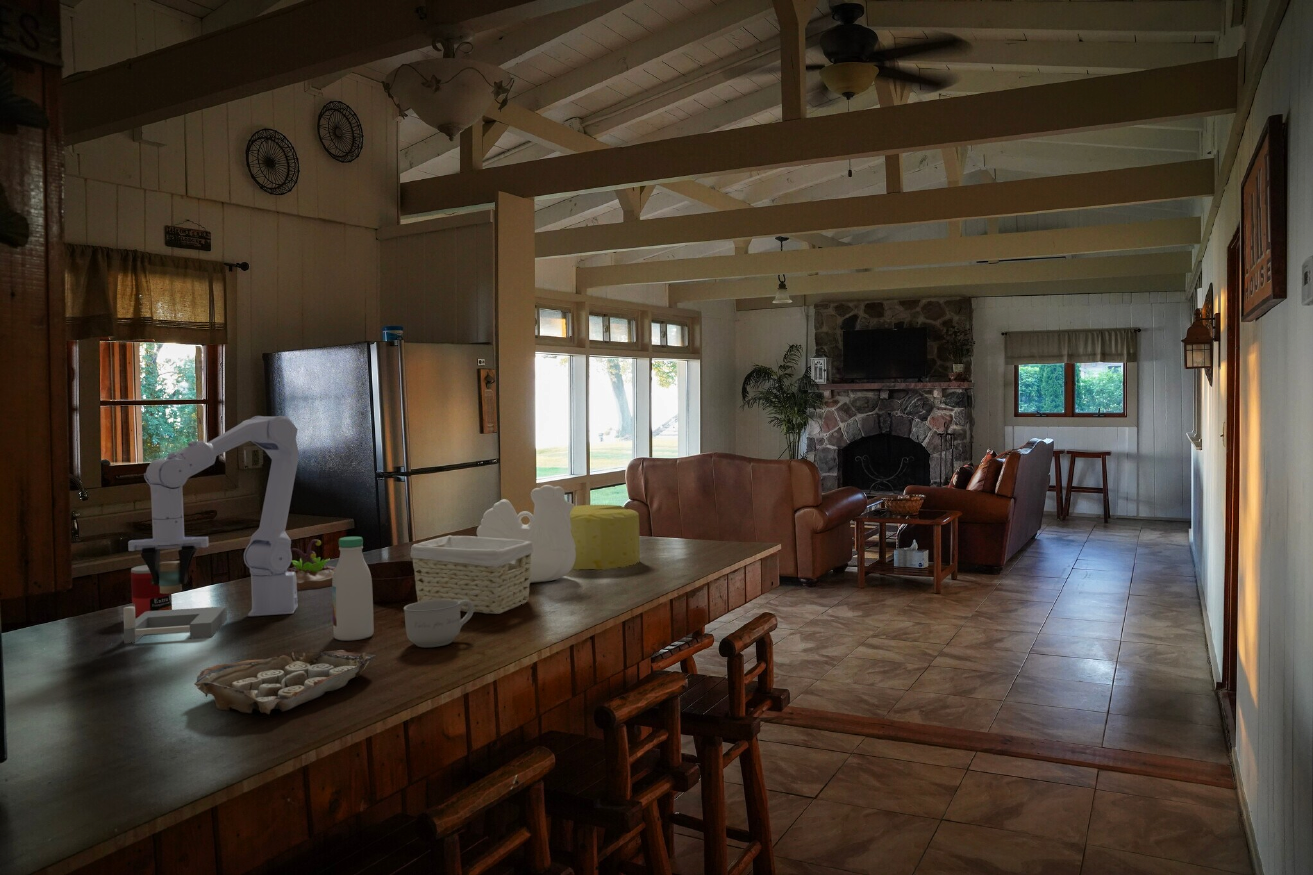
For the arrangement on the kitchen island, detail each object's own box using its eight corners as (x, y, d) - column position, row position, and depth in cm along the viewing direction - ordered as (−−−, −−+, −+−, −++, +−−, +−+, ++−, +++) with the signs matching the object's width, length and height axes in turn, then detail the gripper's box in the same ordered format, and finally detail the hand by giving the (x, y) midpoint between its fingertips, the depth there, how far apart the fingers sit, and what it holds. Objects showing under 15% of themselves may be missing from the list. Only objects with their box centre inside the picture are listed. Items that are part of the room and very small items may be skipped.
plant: (363, 582, 245) (362, 539, 244) (288, 594, 231) (287, 549, 231) (330, 572, 259) (329, 532, 259) (258, 583, 246) (257, 540, 246)
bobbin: (185, 589, 195) (184, 560, 195) (179, 592, 191) (179, 563, 190) (162, 590, 194) (161, 561, 194) (156, 594, 189) (155, 564, 189)
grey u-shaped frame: (226, 619, 204) (225, 588, 204) (211, 637, 189) (209, 603, 189) (146, 625, 200) (144, 592, 200) (123, 644, 185) (121, 609, 185)
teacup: (411, 654, 175) (410, 612, 175) (399, 641, 185) (398, 601, 184) (484, 644, 181) (483, 603, 181) (468, 632, 191) (467, 593, 191)
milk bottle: (381, 633, 191) (378, 535, 190) (357, 642, 184) (354, 541, 183) (349, 630, 194) (346, 534, 193) (325, 640, 186) (321, 540, 185)
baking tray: (297, 663, 173) (296, 634, 173) (398, 671, 166) (397, 641, 166) (164, 716, 145) (162, 681, 144) (278, 728, 137) (277, 691, 137)
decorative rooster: (584, 575, 247) (582, 481, 246) (563, 588, 232) (561, 488, 231) (496, 572, 254) (494, 480, 252) (470, 584, 238) (468, 487, 237)
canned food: (156, 620, 204) (153, 570, 204) (124, 619, 206) (122, 570, 205) (180, 612, 212) (178, 564, 211) (149, 611, 213) (147, 563, 213)
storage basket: (537, 601, 218) (536, 538, 217) (499, 617, 203) (498, 550, 202) (451, 594, 227) (449, 534, 226) (409, 609, 212) (407, 544, 211)
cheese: (654, 556, 275) (654, 505, 274) (614, 572, 251) (613, 517, 250) (576, 551, 285) (575, 502, 285) (531, 566, 262) (529, 513, 261)
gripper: (122, 521, 186) (125, 589, 186) (202, 518, 189) (204, 585, 190) (133, 517, 192) (135, 583, 193) (209, 514, 196) (212, 578, 197)
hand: (170, 583), depth 192 cm, fingers closed on bobbin, 4 cm apart
